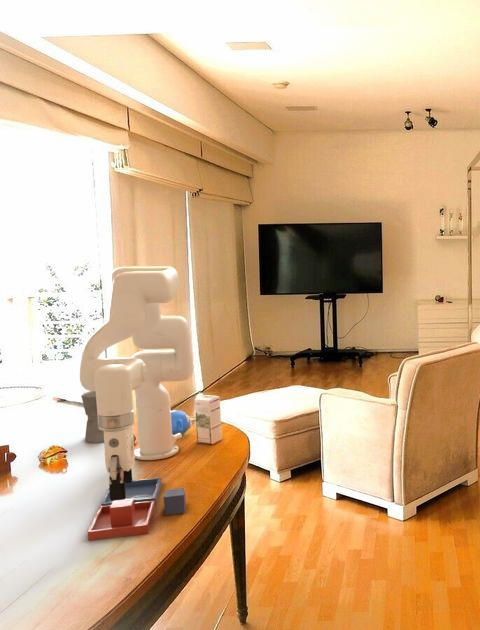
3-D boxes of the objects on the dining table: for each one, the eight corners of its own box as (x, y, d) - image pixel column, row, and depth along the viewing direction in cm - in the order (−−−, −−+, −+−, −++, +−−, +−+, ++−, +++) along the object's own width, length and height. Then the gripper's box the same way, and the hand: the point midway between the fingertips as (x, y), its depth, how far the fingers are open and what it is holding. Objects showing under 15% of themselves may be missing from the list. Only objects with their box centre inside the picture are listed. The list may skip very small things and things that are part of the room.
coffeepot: (80, 436, 221) (76, 382, 219) (111, 430, 227) (107, 378, 225) (90, 448, 209) (86, 391, 207) (122, 442, 215) (119, 387, 212)
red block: (114, 518, 157) (113, 500, 157) (135, 516, 159) (134, 498, 158) (111, 526, 153) (109, 508, 153) (132, 524, 154) (131, 505, 154)
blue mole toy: (205, 436, 220) (203, 411, 219) (167, 442, 214) (165, 417, 213) (195, 427, 230) (194, 403, 229) (159, 433, 224) (157, 408, 223)
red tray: (100, 514, 161) (100, 506, 161) (155, 508, 164) (154, 500, 164) (88, 540, 148) (87, 531, 147) (147, 533, 151) (147, 524, 150)
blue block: (166, 507, 165) (165, 490, 164) (186, 505, 166) (185, 488, 165) (164, 515, 160) (163, 497, 160) (184, 513, 161) (183, 495, 161)
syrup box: (222, 439, 217) (220, 395, 215) (211, 445, 211) (209, 399, 209) (207, 437, 219) (205, 394, 217) (196, 443, 213) (193, 398, 211)
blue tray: (112, 489, 176) (111, 482, 176) (161, 484, 179) (161, 477, 179) (101, 511, 162) (101, 503, 162) (155, 505, 166) (155, 498, 165)
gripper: (128, 430, 146) (133, 504, 148) (139, 407, 162) (144, 475, 165) (90, 433, 144) (96, 508, 146) (105, 410, 160) (110, 478, 163)
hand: (121, 490), depth 156 cm, fingers open, 9 cm apart
